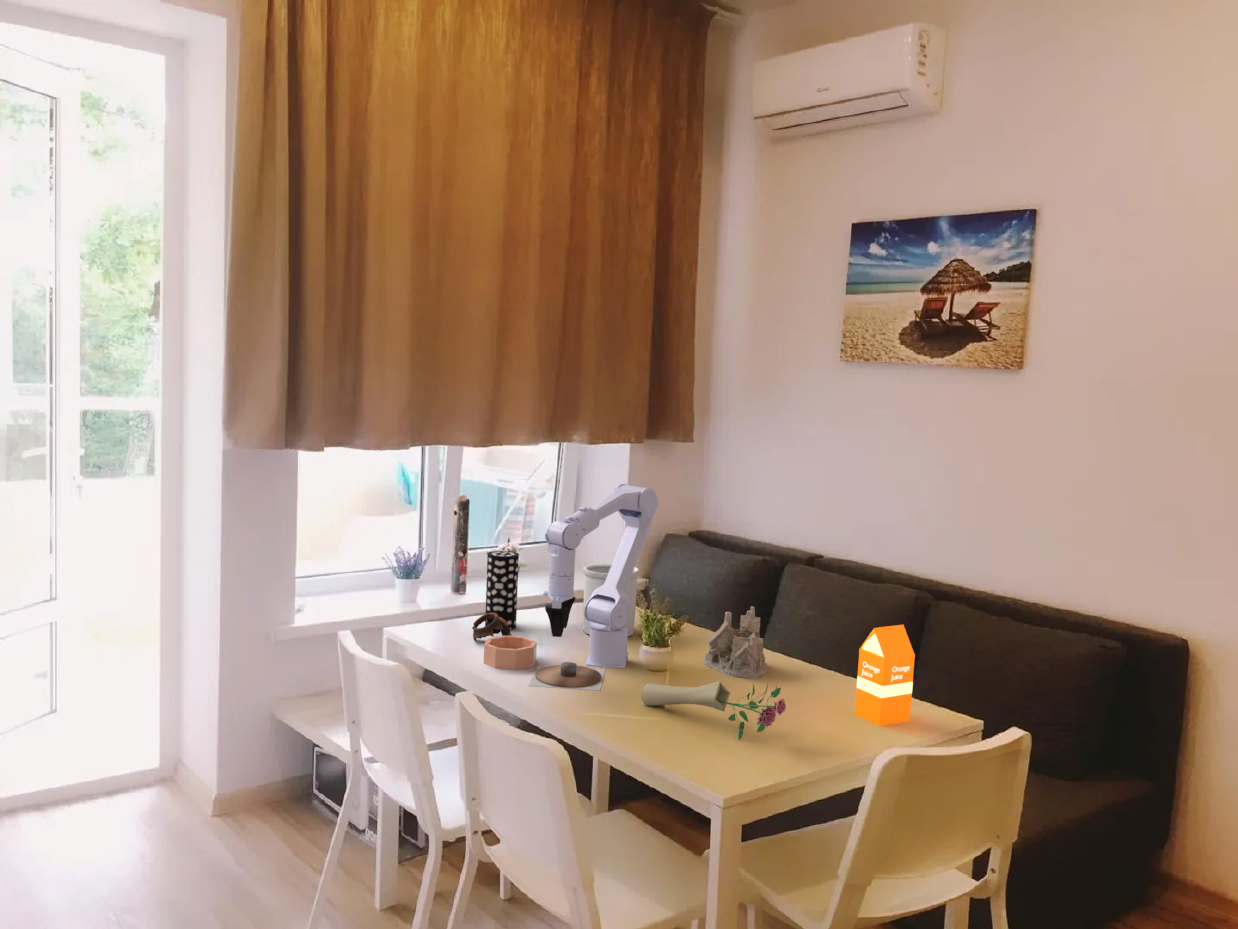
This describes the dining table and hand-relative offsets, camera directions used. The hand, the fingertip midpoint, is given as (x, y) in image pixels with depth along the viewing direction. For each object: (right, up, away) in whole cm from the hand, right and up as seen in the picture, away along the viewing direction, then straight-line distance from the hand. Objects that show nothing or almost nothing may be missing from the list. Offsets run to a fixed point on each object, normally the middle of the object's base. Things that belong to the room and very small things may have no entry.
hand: (559, 632), depth 241 cm
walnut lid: (+2, -10, -1) cm, 11 cm away
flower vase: (+33, -15, -27) cm, 45 cm away
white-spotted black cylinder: (-18, -5, +41) cm, 45 cm away
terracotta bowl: (-12, -9, +9) cm, 18 cm away
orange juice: (+70, -16, -17) cm, 74 cm away
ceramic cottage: (+42, -11, +15) cm, 46 cm away
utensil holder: (+11, -7, +42) cm, 43 cm away
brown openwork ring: (-19, -7, +28) cm, 35 cm away
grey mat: (+2, -11, -1) cm, 11 cm away
